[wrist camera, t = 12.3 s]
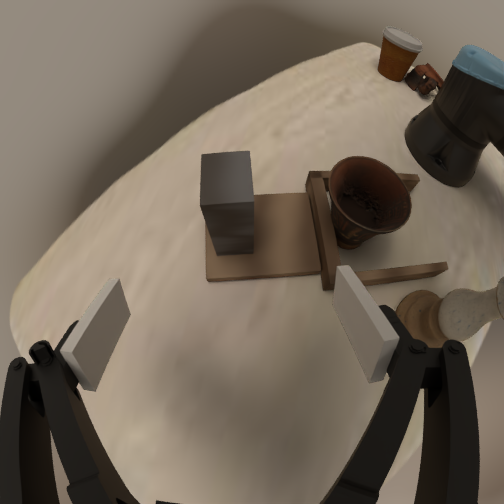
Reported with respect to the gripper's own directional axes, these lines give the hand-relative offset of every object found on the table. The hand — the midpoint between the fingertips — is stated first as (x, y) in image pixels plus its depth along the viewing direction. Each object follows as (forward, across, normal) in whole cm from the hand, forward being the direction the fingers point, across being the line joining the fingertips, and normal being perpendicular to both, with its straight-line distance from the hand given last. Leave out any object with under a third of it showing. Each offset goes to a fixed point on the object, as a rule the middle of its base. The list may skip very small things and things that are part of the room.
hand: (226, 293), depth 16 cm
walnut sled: (+17, +11, -3) cm, 20 cm away
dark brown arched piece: (+43, +44, +22) cm, 65 cm away
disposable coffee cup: (+45, +37, +25) cm, 64 cm away
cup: (+17, +14, -3) cm, 22 cm away
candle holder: (+8, +22, -12) cm, 27 cm away
